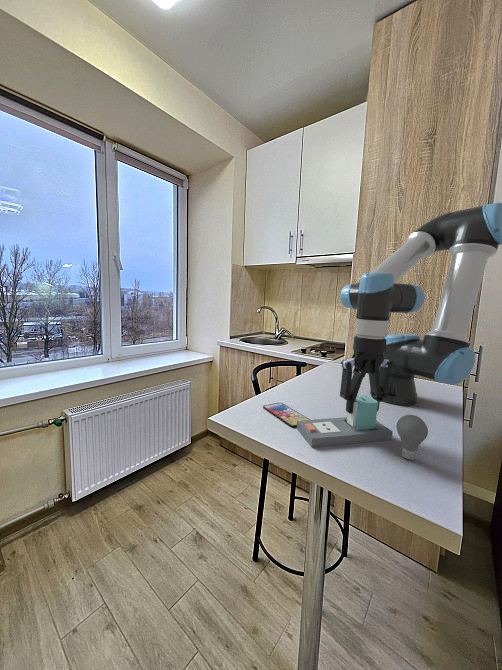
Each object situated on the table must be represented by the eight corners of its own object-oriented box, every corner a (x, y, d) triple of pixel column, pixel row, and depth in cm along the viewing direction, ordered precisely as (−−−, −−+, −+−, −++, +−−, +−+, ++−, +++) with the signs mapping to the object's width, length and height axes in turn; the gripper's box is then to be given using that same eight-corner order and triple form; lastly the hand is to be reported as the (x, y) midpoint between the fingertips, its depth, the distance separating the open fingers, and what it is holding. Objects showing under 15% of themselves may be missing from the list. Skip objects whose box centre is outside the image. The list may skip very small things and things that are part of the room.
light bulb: (411, 468, 57) (417, 424, 56) (387, 453, 63) (392, 412, 61) (429, 462, 60) (436, 420, 58) (404, 448, 65) (410, 408, 63)
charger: (362, 419, 74) (365, 394, 73) (375, 428, 70) (378, 402, 68) (346, 420, 73) (349, 395, 72) (357, 430, 68) (360, 403, 67)
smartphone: (280, 401, 89) (312, 420, 76) (280, 404, 89) (312, 423, 76) (261, 405, 85) (292, 426, 72) (261, 408, 85) (291, 429, 72)
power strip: (368, 422, 77) (369, 413, 77) (391, 439, 69) (392, 429, 68) (296, 428, 72) (297, 418, 72) (311, 447, 64) (312, 436, 63)
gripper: (390, 334, 73) (380, 414, 77) (329, 333, 69) (322, 419, 73) (412, 338, 66) (400, 427, 70) (346, 338, 62) (337, 433, 66)
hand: (360, 423), depth 71 cm, fingers open, 5 cm apart
